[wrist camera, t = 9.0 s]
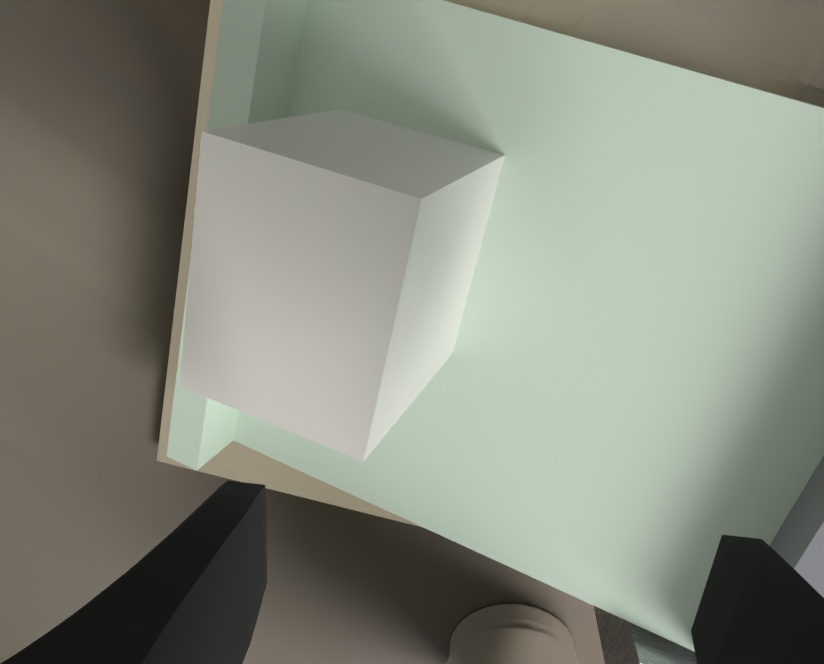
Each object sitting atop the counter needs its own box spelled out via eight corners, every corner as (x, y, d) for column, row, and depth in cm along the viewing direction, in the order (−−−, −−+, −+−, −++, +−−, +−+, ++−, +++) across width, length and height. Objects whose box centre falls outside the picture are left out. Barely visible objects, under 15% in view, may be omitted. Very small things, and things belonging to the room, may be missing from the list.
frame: (1146, 81, 17) (1452, 123, 12) (799, 609, 25) (889, 782, 19) (239, -175, 17) (124, -254, 11) (163, 450, 24) (73, 583, 19)
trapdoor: (1268, 230, 14) (1481, 297, 10) (910, 681, 20) (961, 833, 16) (326, -36, 19) (229, -58, 15) (251, 391, 24) (166, 456, 20)
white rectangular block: (505, 155, 16) (421, 199, 11) (452, 353, 18) (363, 461, 13) (342, 109, 17) (201, 130, 12) (310, 302, 19) (179, 386, 14)
